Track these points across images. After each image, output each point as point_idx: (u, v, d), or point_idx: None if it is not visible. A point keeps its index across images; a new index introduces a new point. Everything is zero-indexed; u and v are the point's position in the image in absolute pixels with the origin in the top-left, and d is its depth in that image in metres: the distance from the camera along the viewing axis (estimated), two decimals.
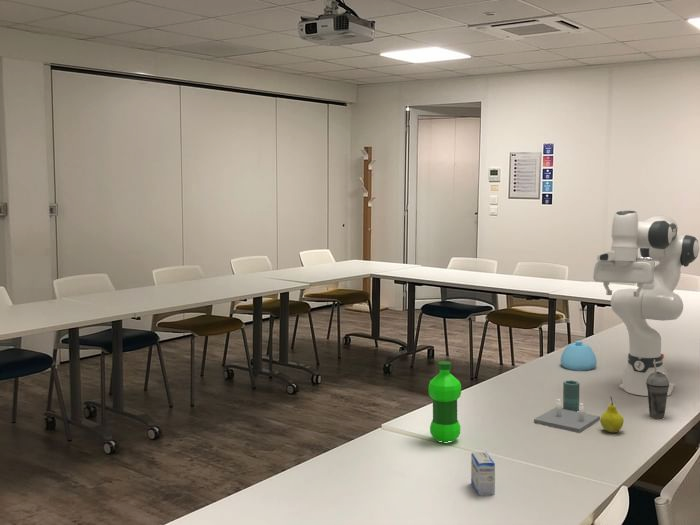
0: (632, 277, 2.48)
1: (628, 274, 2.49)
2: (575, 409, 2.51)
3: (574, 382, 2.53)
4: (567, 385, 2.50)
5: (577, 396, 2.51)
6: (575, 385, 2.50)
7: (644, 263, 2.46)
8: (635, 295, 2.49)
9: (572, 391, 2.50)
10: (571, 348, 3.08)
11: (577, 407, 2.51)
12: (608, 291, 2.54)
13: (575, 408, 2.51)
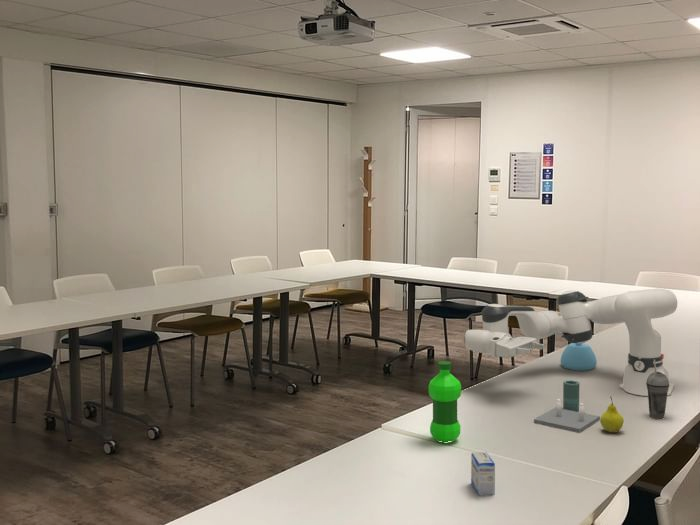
0: (525, 340, 2.67)
1: (521, 340, 2.66)
2: (575, 409, 2.51)
3: (574, 382, 2.53)
4: (567, 385, 2.50)
5: (577, 396, 2.51)
6: (575, 385, 2.50)
7: (518, 337, 2.73)
8: (541, 344, 2.64)
9: (572, 391, 2.50)
10: (571, 348, 3.08)
11: (577, 407, 2.51)
12: (527, 348, 2.57)
13: (575, 408, 2.51)
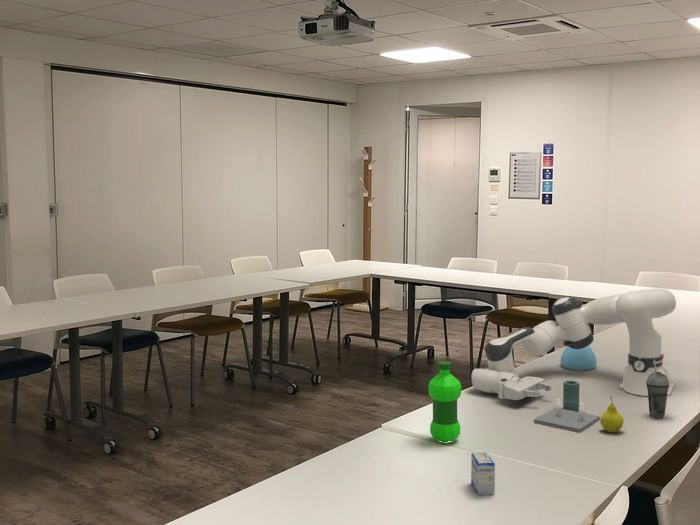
0: (532, 381, 2.66)
1: (528, 381, 2.65)
2: (575, 409, 2.51)
3: (574, 382, 2.53)
4: (567, 385, 2.50)
5: (577, 396, 2.51)
6: (575, 385, 2.50)
7: (525, 377, 2.72)
8: (549, 386, 2.63)
9: (572, 391, 2.50)
10: (571, 348, 3.08)
11: (577, 407, 2.51)
12: (535, 391, 2.56)
13: (575, 408, 2.51)
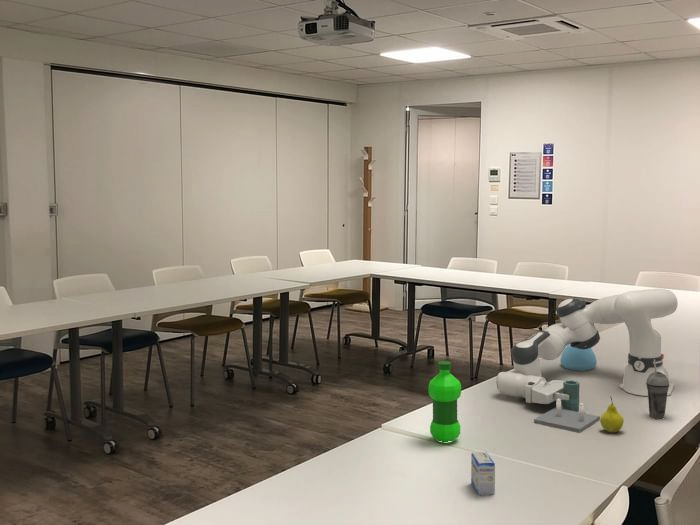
0: (560, 384, 2.59)
1: (556, 385, 2.58)
2: (575, 409, 2.51)
3: (574, 382, 2.53)
4: (567, 385, 2.50)
5: (577, 396, 2.51)
6: (575, 385, 2.50)
7: (552, 380, 2.65)
8: None
9: (572, 391, 2.50)
10: (571, 348, 3.08)
11: (577, 407, 2.51)
12: (566, 394, 2.50)
13: (575, 408, 2.51)
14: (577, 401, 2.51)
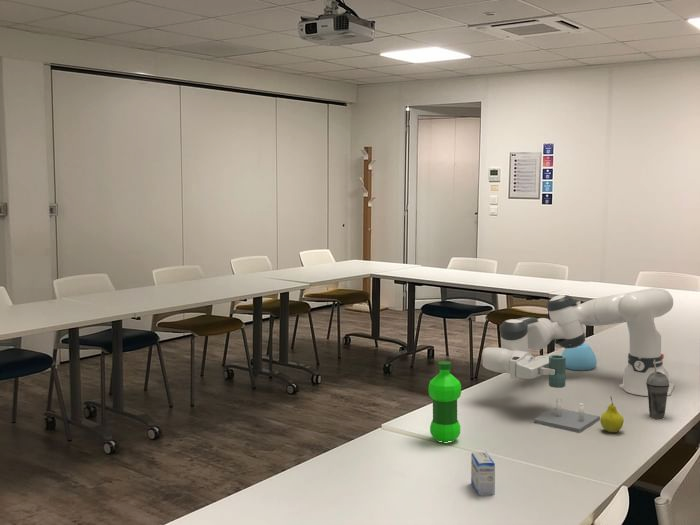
0: (546, 359, 2.50)
1: (542, 360, 2.49)
2: (561, 384, 2.41)
3: (560, 357, 2.44)
4: (553, 359, 2.41)
5: (563, 371, 2.41)
6: (561, 359, 2.40)
7: None
8: None
9: (558, 366, 2.41)
10: None
11: (563, 382, 2.42)
12: (551, 368, 2.41)
13: (561, 383, 2.41)
14: (563, 376, 2.42)
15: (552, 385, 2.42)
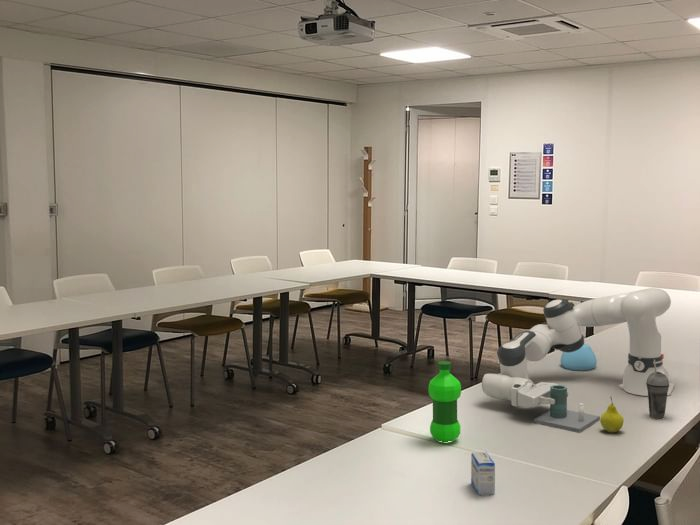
0: (547, 387, 2.49)
1: (543, 387, 2.49)
2: (562, 415, 2.41)
3: (561, 387, 2.44)
4: (554, 390, 2.41)
5: (564, 401, 2.41)
6: (562, 390, 2.40)
7: None
8: None
9: (560, 396, 2.40)
10: None
11: (564, 413, 2.41)
12: (551, 398, 2.39)
13: (562, 414, 2.41)
14: (564, 407, 2.41)
15: (554, 416, 2.42)
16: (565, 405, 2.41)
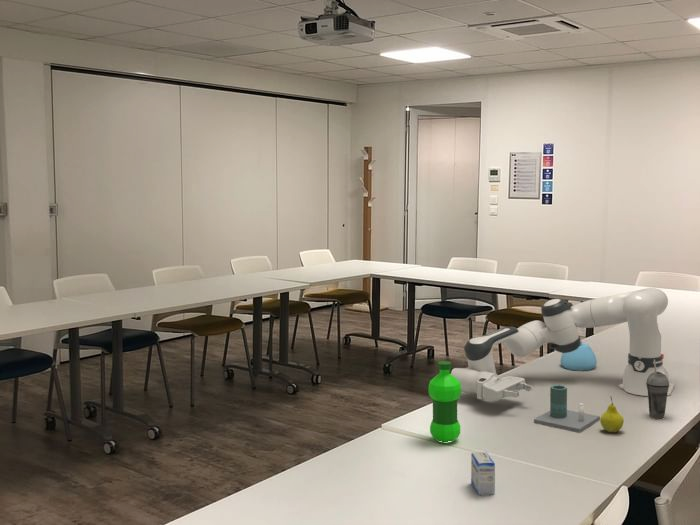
0: (512, 381, 2.58)
1: (508, 381, 2.58)
2: (562, 415, 2.41)
3: (561, 387, 2.44)
4: (554, 390, 2.41)
5: (564, 401, 2.41)
6: (562, 390, 2.40)
7: None
8: (529, 386, 2.55)
9: (560, 396, 2.40)
10: None
11: (564, 413, 2.41)
12: (514, 391, 2.48)
13: (562, 414, 2.41)
14: (564, 407, 2.41)
15: (554, 416, 2.42)
16: (565, 405, 2.41)
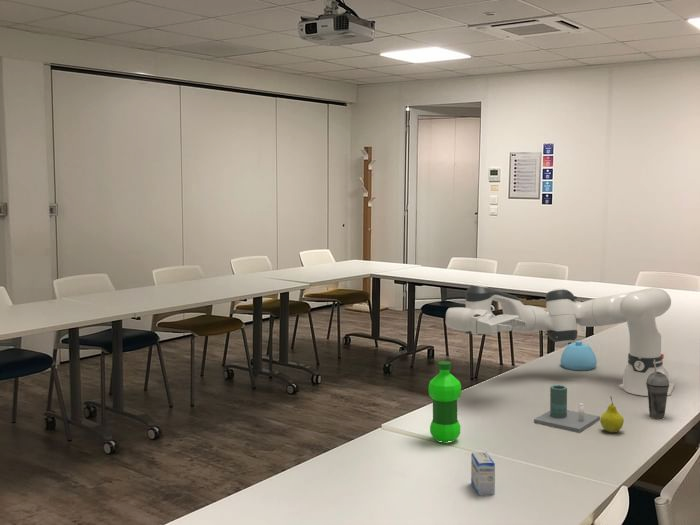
0: (507, 317, 2.59)
1: (502, 317, 2.59)
2: (562, 415, 2.41)
3: (561, 387, 2.44)
4: (554, 390, 2.41)
5: (564, 401, 2.41)
6: (562, 390, 2.40)
7: None
8: (523, 321, 2.56)
9: (560, 396, 2.40)
10: (571, 348, 3.08)
11: (564, 413, 2.41)
12: (508, 325, 2.50)
13: (562, 414, 2.41)
14: (564, 407, 2.41)
15: (554, 416, 2.42)
16: (565, 405, 2.41)
